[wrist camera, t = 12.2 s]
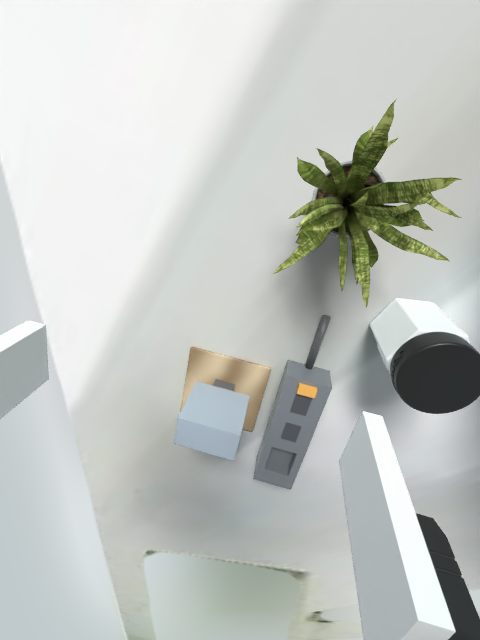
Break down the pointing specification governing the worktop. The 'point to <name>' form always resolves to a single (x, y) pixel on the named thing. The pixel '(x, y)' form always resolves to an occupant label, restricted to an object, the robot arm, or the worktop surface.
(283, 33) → the worktop surface
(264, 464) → the power strip
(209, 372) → the tan flat square block
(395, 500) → the robot arm
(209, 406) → the block
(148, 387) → the worktop surface
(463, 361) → the jar
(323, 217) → the house plant
